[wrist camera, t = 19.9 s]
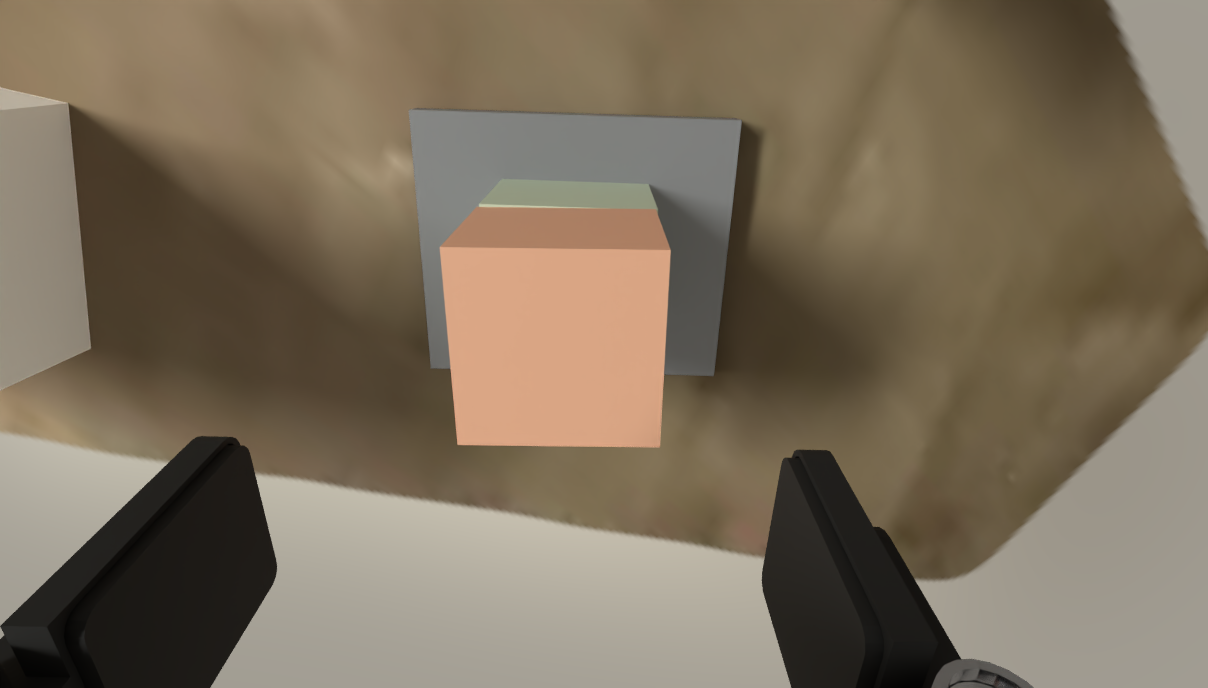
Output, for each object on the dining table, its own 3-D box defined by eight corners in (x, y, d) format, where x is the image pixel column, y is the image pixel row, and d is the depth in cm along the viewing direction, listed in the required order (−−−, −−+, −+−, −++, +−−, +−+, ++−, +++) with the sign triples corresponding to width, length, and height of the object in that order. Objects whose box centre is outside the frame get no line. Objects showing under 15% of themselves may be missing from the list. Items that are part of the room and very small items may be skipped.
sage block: (502, 178, 28) (478, 203, 23) (648, 183, 28) (658, 210, 23) (505, 315, 30) (485, 366, 25) (640, 320, 31) (647, 371, 25)
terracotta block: (476, 206, 23) (439, 247, 18) (655, 208, 23) (670, 249, 18) (487, 368, 25) (457, 444, 20) (648, 370, 25) (659, 447, 20)
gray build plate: (416, 108, 28) (408, 109, 27) (736, 118, 28) (741, 120, 27) (436, 358, 33) (430, 368, 32) (710, 365, 33) (713, 375, 32)
